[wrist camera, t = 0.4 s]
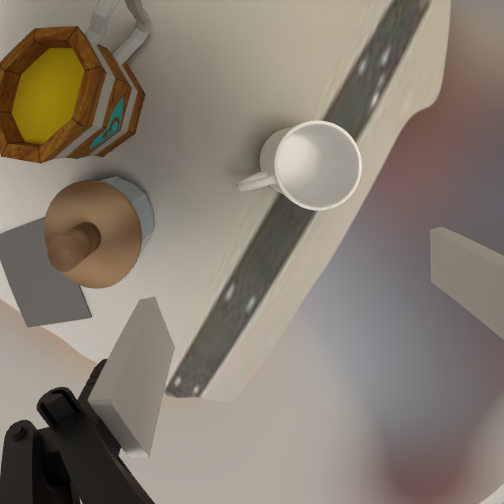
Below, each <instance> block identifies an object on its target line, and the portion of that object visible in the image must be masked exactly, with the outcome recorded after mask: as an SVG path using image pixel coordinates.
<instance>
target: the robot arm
mask: <svg viewBox="0 0 504 504" xmlns="http://www.w3.org/2000/svg"><path fill="white" fill-rule="evenodd" d="M430 241H431V242H430V243H431V282H432V283H434V284H435V285H436V286H438V287H439V288H440V289H441V290H443V291H444V292H445V293H447V294H448V295H449V296H451V297H452V298H453V299H454V300H456V301H457V302H458V303H459V304H461V305H462V306H463V307H465V308H466V309H467V310H468V311H470V312H471V313H472V314H473V315H474V316H476V317H477V318H478V319H479V320H481V321H482V322H483V323H484V324H485V325H487V326H488V327H489V328H490V329H492V330H493V331H494V332H495V333H496V334H497V335H498V336H500V337H501V338H502V339H503V340H504V256H502V255H500V254H498V253H496V252H494V251H492V250H490V249H488V248H486V247H484V246H482V245H480V244H478V243H476V242H474V241H472V240H470V239H468V238H465V237H463V236H461V235H459V234H457V233H455V232H452V231H450V230H448V229H446V228H443V227H439V228H435V229H432V230H430ZM174 348H175V346H174V344H173V341H172V339H171V337H170V334H169V332H168V329H167V327H166V324H165V322H164V319H163V317H162V314H161V311H160V309H159V306H158V303H157V301H156V298H155V297H151V298H146V299H142V300H139V302H138V304H137V306H136V307H135V309H134V311H133V313H132V315H131V316H130V318H129V320H128V322H127V324H126V326H125V327H124V329H123V331H122V333H121V335H120V337H119V339H118V341H117V342H116V344H115V346H114V348H113V350H112V352H111V354H110V356H109V358H108V359H103V360H102V361H101V362H100V363H99V364H98V365H97V366H96V367H95V368H94V370H93V371H92V373H91V375H90V378H89V379H88V381H87V383H86V386H85V387H84V388H83V390H82V392H81V394H80V396H79V398H78V400H77V399H76V398H75V396H74V395H73V393H72V392H71V391H70V390H69V389H68V388H66V387H59V388H55V389H53V390H50V391H49V392H47V393H46V394H44V395H43V396H42V397H41V398H40V400H39V402H38V404H37V411H38V412H39V413H40V415H41V416H42V417H43V419H44V420H45V421H46V423H47V424H48V425H49V427H47V428H43V429H39V430H37V429H36V428H35V426H34V425H33V424H32V423H31V422H30V421H28V420H21V421H18V422H16V423H14V424H13V425H11V426H10V428H9V429H8V431H7V432H6V435H5V439H4V447H3V454H2V463H1V475H0V504H80V499H81V501H82V503H83V504H155V503H154V502H153V501H152V499H151V498H150V497H149V496H148V494H147V493H146V492H145V491H144V489H143V488H142V487H141V485H140V484H139V483H138V482H137V480H136V479H135V478H134V476H133V475H132V474H131V472H130V471H129V469H128V468H127V467H126V465H125V464H124V462H123V461H122V460H121V459H120V457H119V452H120V449H121V448H122V449H123V450H124V451H125V453H126V454H127V455H128V456H129V457H149V456H150V451H151V447H152V442H153V437H154V433H155V428H156V424H157V419H158V414H159V410H160V405H161V401H162V397H163V393H164V389H165V384H166V380H167V376H168V372H169V368H170V364H171V360H172V356H173V352H174ZM79 497H80V498H79Z"/></svg>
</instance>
